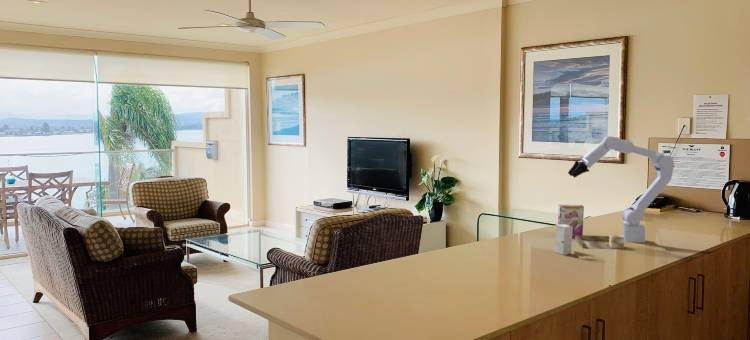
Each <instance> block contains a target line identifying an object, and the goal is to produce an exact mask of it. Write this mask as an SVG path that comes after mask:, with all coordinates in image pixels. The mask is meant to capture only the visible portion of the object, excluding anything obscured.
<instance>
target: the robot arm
mask: <svg viewBox="0 0 750 340" xmlns="http://www.w3.org/2000/svg"><path fill="white" fill-rule="evenodd" d="M611 150H613V151H616V152H618V153H619V152H620V153H623V154H626V155H629V154H631V153H633V154H637V155H640V156H644V157H647V158H648V159H649V161H651V162H652V166H653V167H654V169H655V170H656V174H657V175H656V176H657V177H656V178H655V179H654V181H652V183H651V184H650V185H649V186H648V188H647V189H646V190H645V191H644V192H643V193H642V194H641V196H640V197H639V198H638V199H637V200H636V201H635V203H633V204H631V205H630V206H629V207H628V208H625V209H623V211H622V213H621V219H622V220H623V222H622V234H621V235H622V236H623V237H624V242H627V243H646V226H645V225H644V224H641V221H642V218H643V216H644V215H645V213H646V209H648V207H649V206H651V203H653V202H654V200H655V199H656V198H657V197H658V195H659V194H660V193H661V192H662V191H663V189H664V188H665V187H666V186H667V185H668V184H669V183H670V182H671V180H672V177H673V171H674V168H675V162H674V159H673V158H672V157H671V156H669V155H665V154H664V153H661V152H659V151H657V150H652V149H649V148H645V147H640V146H636V145H634V143H633V142H632V141H631V140H629V139H622V138H619V137H617V136H616V137H615V136H610V135H609V136H605V137H603V138H602V139H601V142H599V143H598V144H596V145H595V146H594V147H593V148H592V149H591V150H589V151H588V152H587V153H585V154H584V156H582V155H579V158H580V160H579V161H578V160H574V164H573V165H572V167H570V169H569V170H568V172H567V173H568V175H569V176H570V177H571V176H572V177H573V178H577V177H578V176H580V175H583V174H585V173H587V172H590V170H589V169H591V168H592V167H593V166H594V164H596V163H598V162H599V161H600V160H601V159H602V158H603V157H604V156H605V155H607V153H609V152H610V151H611Z"/></svg>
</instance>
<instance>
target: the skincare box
mask: <svg viewBox="0 0 750 340" xmlns="http://www.w3.org/2000/svg"><path fill="white" fill-rule="evenodd" d="M572 232H573V227H572V226H569V225H565V224H561V225H558V224H556V231H555V248H554V252H555V253H557V254H559V255H562V256H568V255H567V254H570V255H572V246H573V245H572V244H573V237H572Z"/></svg>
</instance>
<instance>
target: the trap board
mask: <svg viewBox="0 0 750 340" xmlns="http://www.w3.org/2000/svg"><path fill="white" fill-rule="evenodd" d="M574 240H575V241H576V242H577V244H579V246H580V247H581V248H582V249H588V247H586V246H590V248H591V249H596V250H597V249H598V250H619V251H620V250H623V251H624V250H625V251H626V248H625V247H624V248H611V247H610V246H609V243H604V242H609V235H589V234H588V235H586V234H585V235H575V237H574Z"/></svg>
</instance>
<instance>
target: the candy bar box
mask: <svg viewBox="0 0 750 340" xmlns="http://www.w3.org/2000/svg"><path fill="white" fill-rule="evenodd" d="M557 207H558V212H557V214H558V215H557V225H561V224H565V225H569V226H572V227H573V232H572V238H575V235H583V233H584V230H583V229H584V213H585V211H584V210H585V209H584V208H585V207H584V205H582V204H569V203H568V204H567V203H566V204H564V203H559V204H558V206H557Z"/></svg>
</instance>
